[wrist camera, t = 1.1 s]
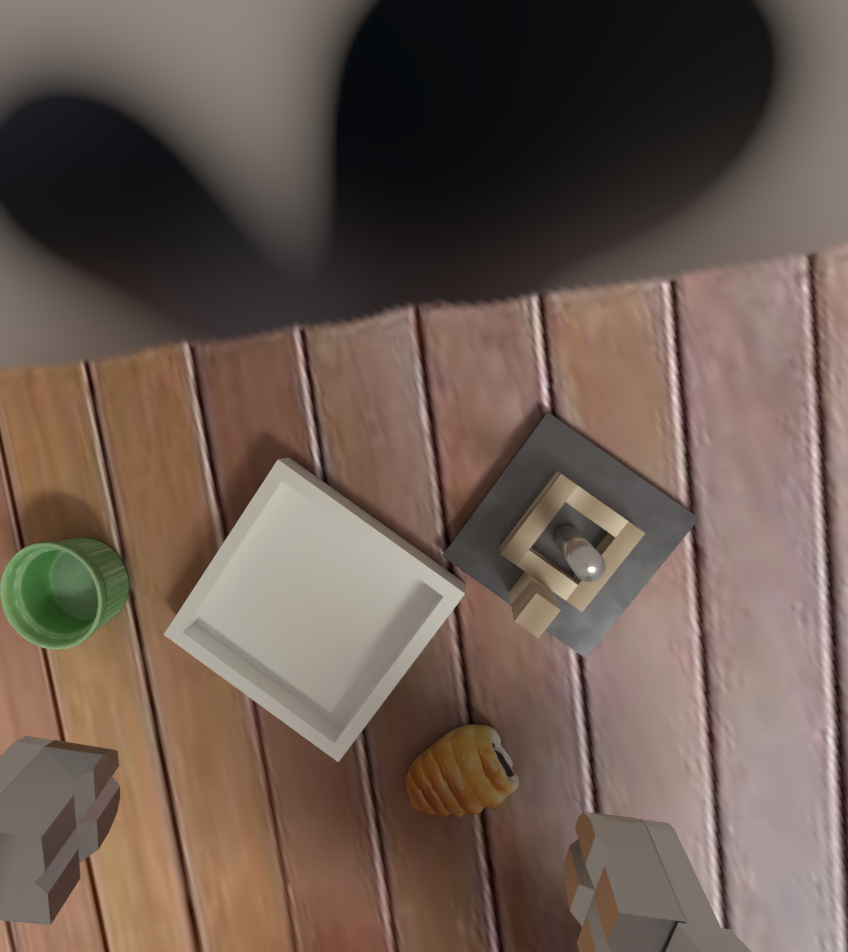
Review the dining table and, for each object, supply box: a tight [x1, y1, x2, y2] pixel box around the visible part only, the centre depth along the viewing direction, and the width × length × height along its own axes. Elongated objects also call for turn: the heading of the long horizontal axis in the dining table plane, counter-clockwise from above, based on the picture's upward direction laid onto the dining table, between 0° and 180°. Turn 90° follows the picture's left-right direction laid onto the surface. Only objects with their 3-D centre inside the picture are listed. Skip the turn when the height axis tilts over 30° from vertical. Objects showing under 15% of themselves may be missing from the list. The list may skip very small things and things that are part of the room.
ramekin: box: [0, 538, 129, 650], centre depth 44 cm, size 9×9×4 cm
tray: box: [164, 457, 466, 762], centre depth 43 cm, size 18×18×2 cm
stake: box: [443, 412, 699, 658], centre depth 37 cm, size 14×14×9 cm
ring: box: [500, 472, 645, 638], centre depth 37 cm, size 8×10×6 cm
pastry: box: [405, 724, 519, 818], centre depth 42 cm, size 9×7×4 cm
